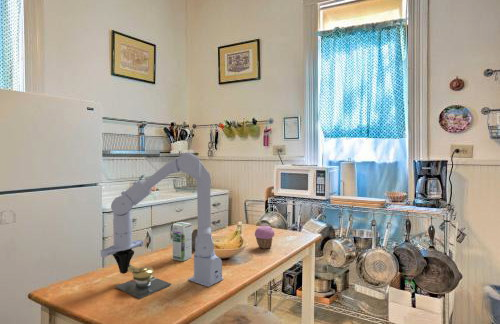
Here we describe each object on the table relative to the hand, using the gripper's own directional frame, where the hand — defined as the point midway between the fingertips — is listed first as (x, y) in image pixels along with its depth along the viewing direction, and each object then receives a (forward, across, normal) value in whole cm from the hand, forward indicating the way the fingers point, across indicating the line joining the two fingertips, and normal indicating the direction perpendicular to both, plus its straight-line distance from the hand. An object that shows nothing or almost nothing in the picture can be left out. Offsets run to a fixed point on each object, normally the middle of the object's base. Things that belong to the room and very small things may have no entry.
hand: (123, 272), depth 109 cm
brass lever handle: (+1, -3, +4) cm, 5 cm away
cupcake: (+4, -61, +16) cm, 63 cm away
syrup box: (+4, -29, -3) cm, 29 cm away
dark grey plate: (+4, -3, +7) cm, 8 cm away
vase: (+4, -41, -7) cm, 42 cm away
